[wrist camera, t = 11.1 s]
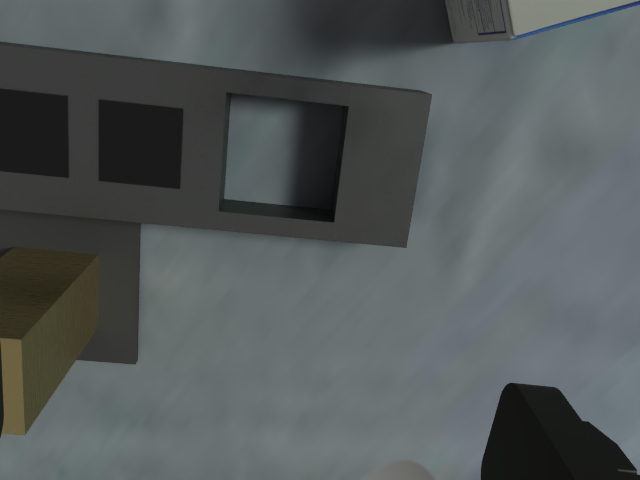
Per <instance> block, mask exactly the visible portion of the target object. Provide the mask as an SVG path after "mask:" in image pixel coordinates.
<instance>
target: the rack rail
mask: <svg viewBox="0 0 640 480" xmlns="http://www.w3.org/2000/svg"><path fill="white" fill-rule="evenodd" d="M231 93H236V94H245V95H254V96H263V97H272V98H281V99H289V100H298V101H307V102H316V103H325V104H334V105H343V106H344V110H343V118H342V127H341V135H340V143H339V151H338V159H337V167H336V175H335V183H334V191H333V199H332V207H331V210H327V209H317V208H307V207H297V206H287V205H277V204H266V203H256V202H246V201H236V200H226V199H224V189H225V174H226V159H227V144H228V128H229V113H230V98H231ZM431 98H432V94H429V93H426V92H424V91H419V90H411V89H402V88H394V87H385V86H376V85H368V84H359V83H351V82H342V81H333V80H325V79H316V78H308V77H299V76H290V75H282V74H273V73H265V72H256V71H247V70H239V69H230V68H222V67H213V66H204V65H196V64H187V63H178V62H170V61H161V60H153V59H144V58H135V57H127V56H118V55H110V54H101V53H92V52H84V51H75V50H67V49H58V48H49V47H41V46H32V45H24V44H15V43H6V42H0V209H2V210H12V211H23V212H34V213H44V214H55V215H65V216H76V217H86V218H97V219H107V220H118V221H129V222H139V223H150V224H160V225H171V226H181V227H192V228H202V229H213V230H223V231H234V232H245V233H255V234H266V235H276V236H287V237H297V238H308V239H318V240H329V241H340V242H350V243H361V244H371V245H382V246H392V247H403V248H406V246H407V240H408V234H409V228H410V222H411V217H412V211H413V205H414V199H415V193H416V187H417V181H418V175H419V169H420V163H421V157H422V151H423V145H424V140H425V134H426V128H427V122H428V116H429V110H430V104H431Z"/></svg>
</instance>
